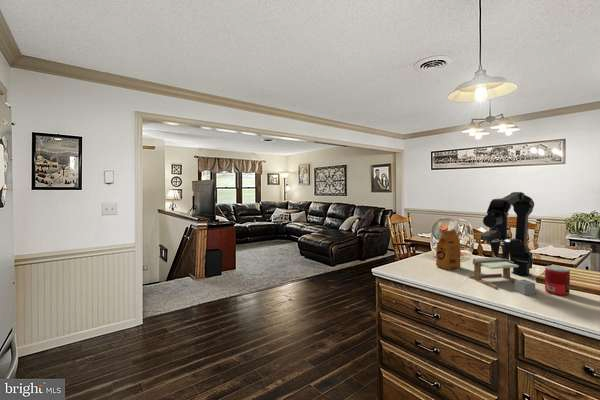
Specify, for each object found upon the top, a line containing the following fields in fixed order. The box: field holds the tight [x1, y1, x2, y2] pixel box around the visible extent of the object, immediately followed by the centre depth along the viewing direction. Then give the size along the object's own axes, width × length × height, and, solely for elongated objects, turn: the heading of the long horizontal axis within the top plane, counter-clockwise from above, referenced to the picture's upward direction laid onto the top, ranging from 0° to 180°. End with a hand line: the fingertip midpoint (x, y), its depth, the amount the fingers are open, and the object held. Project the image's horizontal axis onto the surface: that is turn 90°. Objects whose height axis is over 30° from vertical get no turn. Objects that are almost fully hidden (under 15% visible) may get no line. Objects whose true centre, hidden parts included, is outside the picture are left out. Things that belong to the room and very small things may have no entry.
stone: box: [514, 279, 536, 296], centre depth 126 cm, size 5×5×5 cm
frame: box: [469, 258, 518, 290], centre depth 141 cm, size 17×18×10 cm
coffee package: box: [435, 228, 461, 271], centre depth 169 cm, size 10×12×22 cm
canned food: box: [544, 265, 571, 297], centre depth 125 cm, size 8×8×11 cm
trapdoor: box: [472, 256, 519, 270], centre depth 143 cm, size 12×14×3 cm
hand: (500, 257), depth 139 cm, fingers open, 4 cm apart
